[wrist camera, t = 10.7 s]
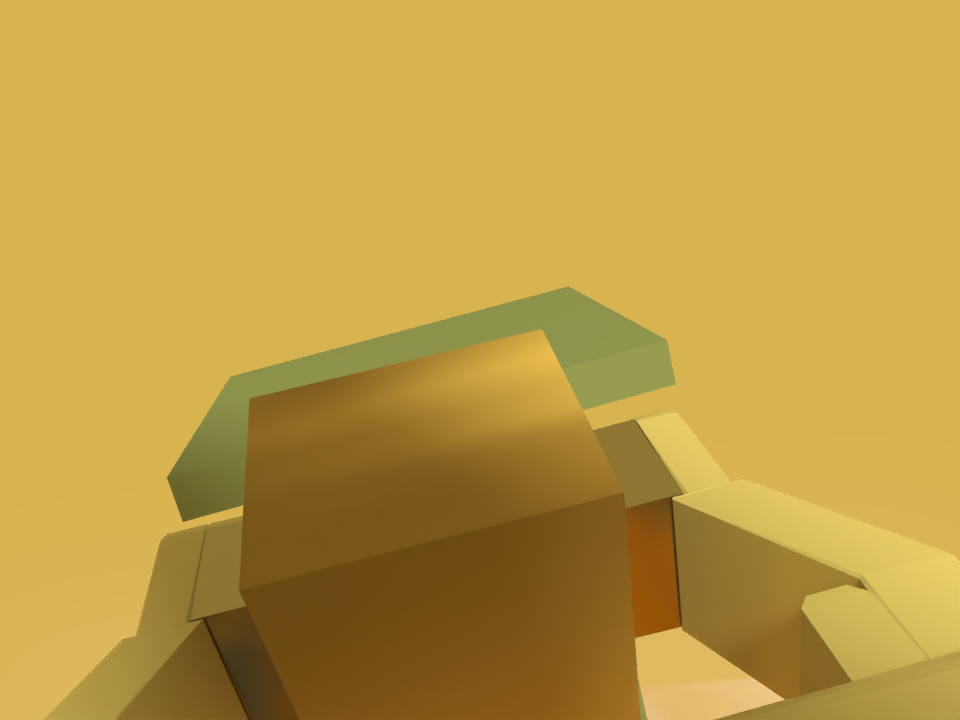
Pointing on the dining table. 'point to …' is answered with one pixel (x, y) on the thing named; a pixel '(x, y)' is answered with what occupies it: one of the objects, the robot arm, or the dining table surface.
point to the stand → (560, 314)
